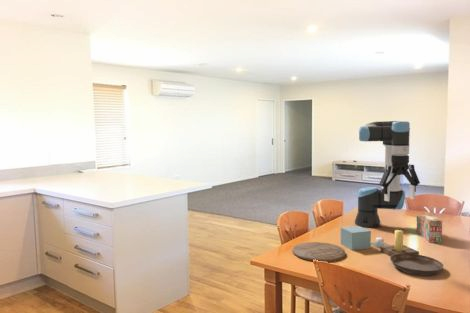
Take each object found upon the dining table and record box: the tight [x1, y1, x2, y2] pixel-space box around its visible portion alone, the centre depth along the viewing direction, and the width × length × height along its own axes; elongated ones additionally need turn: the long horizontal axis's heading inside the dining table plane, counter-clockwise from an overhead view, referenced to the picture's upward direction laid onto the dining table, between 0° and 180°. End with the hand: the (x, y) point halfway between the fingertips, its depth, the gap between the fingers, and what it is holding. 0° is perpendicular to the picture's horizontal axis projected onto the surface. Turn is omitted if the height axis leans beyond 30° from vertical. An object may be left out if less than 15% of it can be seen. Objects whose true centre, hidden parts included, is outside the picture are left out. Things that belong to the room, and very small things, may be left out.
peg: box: [394, 229, 404, 253], centre depth 175 cm, size 4×4×12 cm
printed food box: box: [416, 214, 443, 244], centre depth 205 cm, size 21×6×12 cm, turn 170°
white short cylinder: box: [371, 237, 390, 249], centre depth 191 cm, size 8×8×4 cm
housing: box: [340, 225, 372, 251], centre depth 191 cm, size 11×11×9 cm
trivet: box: [292, 241, 346, 263], centre depth 181 cm, size 25×25×2 cm
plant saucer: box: [389, 254, 444, 276], centre depth 160 cm, size 21×21×3 cm
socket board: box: [379, 244, 420, 257], centre depth 178 cm, size 12×12×2 cm
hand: (399, 200), depth 174 cm, fingers open, 13 cm apart
